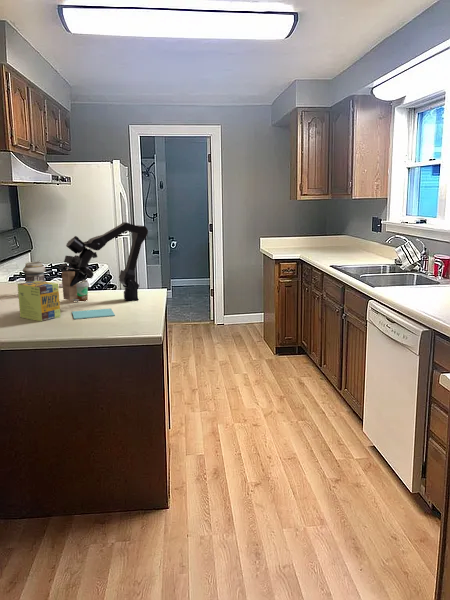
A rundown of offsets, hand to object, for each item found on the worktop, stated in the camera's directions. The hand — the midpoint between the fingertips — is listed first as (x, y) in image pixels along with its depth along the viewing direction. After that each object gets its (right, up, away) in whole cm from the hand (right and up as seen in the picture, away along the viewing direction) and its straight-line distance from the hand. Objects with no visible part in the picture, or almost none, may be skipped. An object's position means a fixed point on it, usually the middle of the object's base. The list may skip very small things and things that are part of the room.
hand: (67, 285), depth 240 cm
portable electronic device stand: (-18, +1, +63) cm, 66 cm away
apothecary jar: (-29, -4, +40) cm, 50 cm away
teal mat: (+14, -13, -5) cm, 20 cm away
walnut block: (+1, -6, +3) cm, 7 cm away
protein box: (-9, -15, -10) cm, 20 cm away
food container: (+1, -7, +24) cm, 26 cm away
